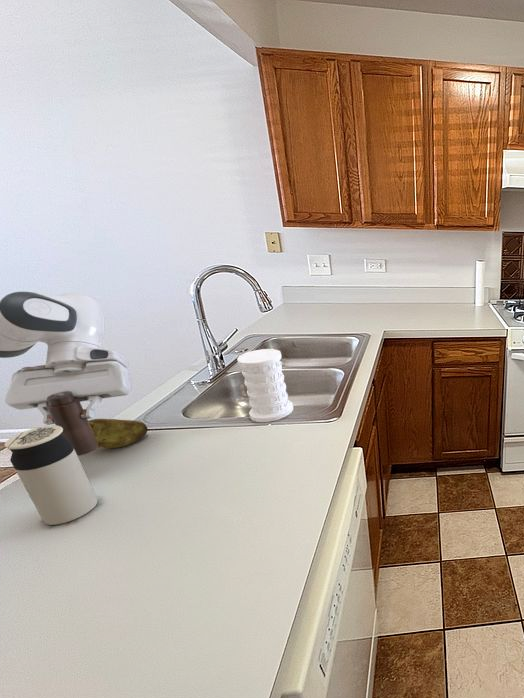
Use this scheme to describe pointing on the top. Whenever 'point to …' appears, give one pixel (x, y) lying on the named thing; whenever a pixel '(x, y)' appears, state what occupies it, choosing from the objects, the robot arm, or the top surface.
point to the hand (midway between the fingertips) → (69, 420)
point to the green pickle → (117, 432)
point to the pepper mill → (72, 421)
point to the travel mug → (52, 474)
